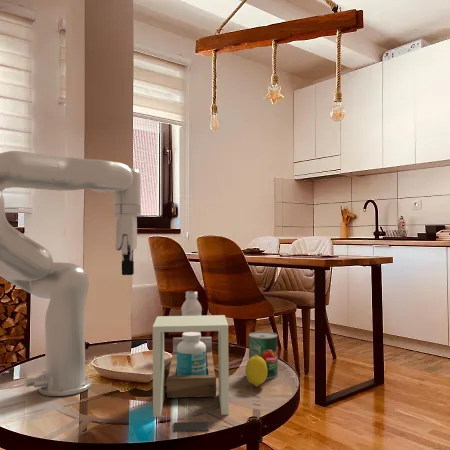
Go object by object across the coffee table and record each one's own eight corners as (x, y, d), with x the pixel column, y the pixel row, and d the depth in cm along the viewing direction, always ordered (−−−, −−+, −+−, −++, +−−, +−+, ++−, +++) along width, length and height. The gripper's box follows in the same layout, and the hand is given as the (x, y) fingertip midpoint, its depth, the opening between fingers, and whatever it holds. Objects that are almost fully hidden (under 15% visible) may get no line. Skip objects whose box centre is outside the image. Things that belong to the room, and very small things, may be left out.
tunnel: (228, 414, 101) (228, 325, 101) (153, 416, 100) (152, 326, 100) (225, 394, 113) (224, 315, 113) (157, 396, 112) (157, 316, 112)
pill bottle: (195, 394, 114) (194, 338, 114) (170, 388, 117) (170, 335, 118) (211, 385, 120) (211, 332, 120) (188, 380, 124) (187, 329, 124)
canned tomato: (252, 369, 133) (252, 330, 133) (279, 371, 131) (279, 332, 131) (246, 378, 126) (245, 337, 126) (275, 380, 123) (274, 338, 124)
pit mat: (208, 431, 92) (208, 429, 92) (172, 432, 92) (172, 430, 92) (207, 422, 96) (207, 421, 96) (173, 423, 96) (173, 422, 96)
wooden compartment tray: (216, 396, 111) (215, 367, 111) (166, 397, 110) (166, 368, 110) (211, 359, 142) (211, 336, 143) (173, 360, 142) (173, 337, 142)
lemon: (266, 390, 115) (266, 358, 116) (244, 389, 117) (243, 357, 117) (268, 383, 121) (268, 352, 121) (247, 382, 122) (247, 351, 122)
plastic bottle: (202, 357, 147) (201, 293, 147) (180, 357, 147) (180, 293, 147) (203, 351, 153) (202, 290, 153) (182, 351, 153) (182, 290, 153)
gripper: (118, 212, 143) (118, 272, 142) (109, 210, 128) (109, 277, 127) (143, 212, 143) (143, 272, 143) (137, 210, 128) (137, 277, 128)
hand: (127, 274), depth 135 cm, fingers closed
